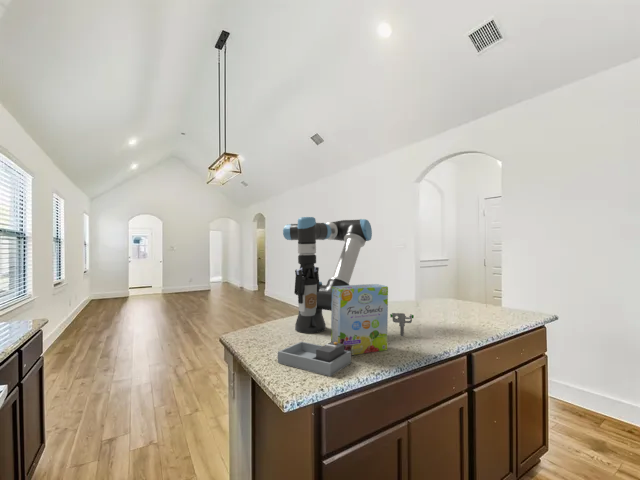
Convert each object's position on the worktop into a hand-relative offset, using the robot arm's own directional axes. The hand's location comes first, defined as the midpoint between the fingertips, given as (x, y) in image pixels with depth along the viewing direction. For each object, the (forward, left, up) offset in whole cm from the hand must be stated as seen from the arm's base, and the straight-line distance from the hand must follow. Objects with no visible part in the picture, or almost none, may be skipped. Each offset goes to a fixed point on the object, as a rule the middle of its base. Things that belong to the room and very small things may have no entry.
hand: (307, 309), depth 134 cm
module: (+20, -14, -15) cm, 29 cm away
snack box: (+21, +6, -15) cm, 27 cm away
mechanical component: (+28, +35, -15) cm, 47 cm away
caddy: (+13, -14, -15) cm, 25 cm away
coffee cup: (0, 0, -2) cm, 2 cm away
